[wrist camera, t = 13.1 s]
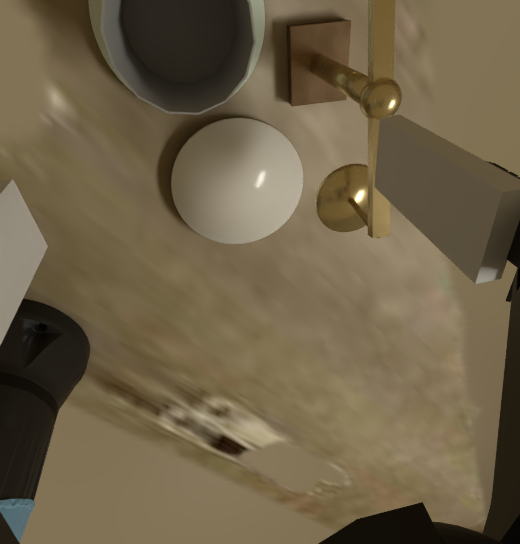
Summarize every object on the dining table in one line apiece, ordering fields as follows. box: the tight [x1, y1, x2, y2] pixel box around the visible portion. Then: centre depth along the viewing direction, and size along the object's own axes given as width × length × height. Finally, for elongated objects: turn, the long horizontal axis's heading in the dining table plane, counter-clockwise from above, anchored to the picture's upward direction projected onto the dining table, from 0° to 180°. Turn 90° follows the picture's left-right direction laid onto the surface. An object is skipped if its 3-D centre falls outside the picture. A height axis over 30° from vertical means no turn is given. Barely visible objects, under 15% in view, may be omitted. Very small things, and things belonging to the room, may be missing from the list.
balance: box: [287, 0, 402, 238], centre depth 27 cm, size 22×6×16 cm, turn 4°
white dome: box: [171, 117, 303, 244], centre depth 39 cm, size 13×13×1 cm
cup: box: [100, 0, 256, 115], centre depth 25 cm, size 8×8×10 cm
